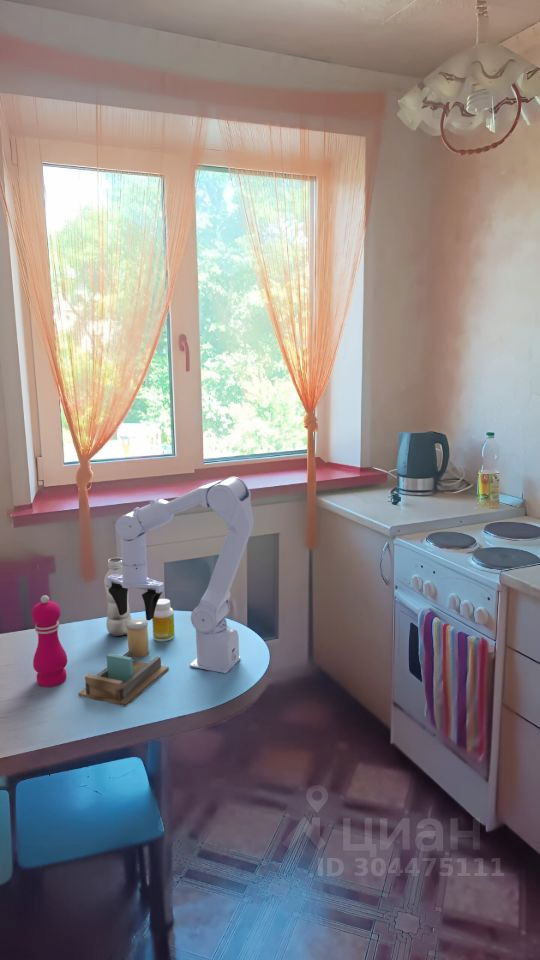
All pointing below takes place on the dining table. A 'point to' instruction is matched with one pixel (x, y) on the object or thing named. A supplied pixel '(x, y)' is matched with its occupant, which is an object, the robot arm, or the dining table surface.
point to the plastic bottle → (114, 619)
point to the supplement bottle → (163, 621)
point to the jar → (138, 637)
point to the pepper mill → (48, 644)
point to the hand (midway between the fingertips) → (136, 616)
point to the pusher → (119, 667)
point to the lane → (119, 691)
